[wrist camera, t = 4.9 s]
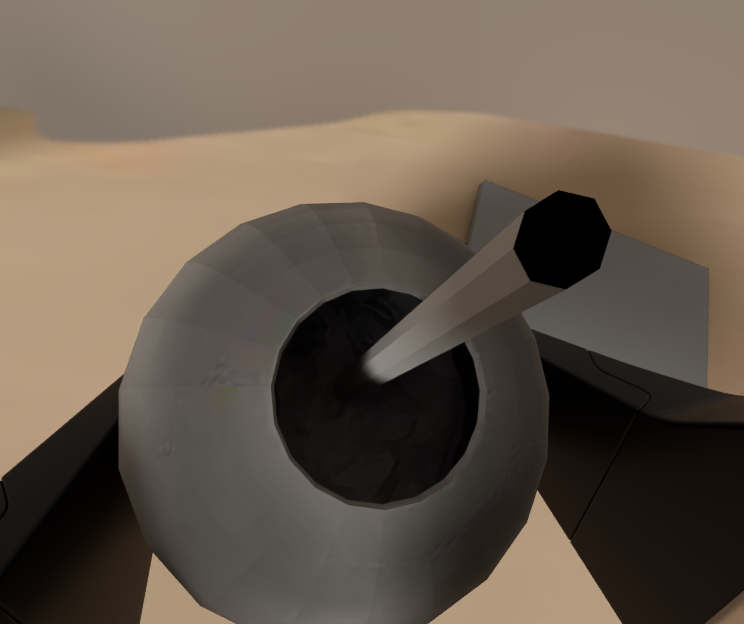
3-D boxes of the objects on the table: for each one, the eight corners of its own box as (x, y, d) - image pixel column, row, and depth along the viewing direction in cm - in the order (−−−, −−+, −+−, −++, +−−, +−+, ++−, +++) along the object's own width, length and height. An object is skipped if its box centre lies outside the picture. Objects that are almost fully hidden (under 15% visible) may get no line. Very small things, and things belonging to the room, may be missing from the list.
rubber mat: (695, 501, 23) (705, 504, 22) (426, 421, 21) (430, 421, 20) (700, 271, 27) (708, 268, 27) (479, 185, 25) (484, 180, 24)
